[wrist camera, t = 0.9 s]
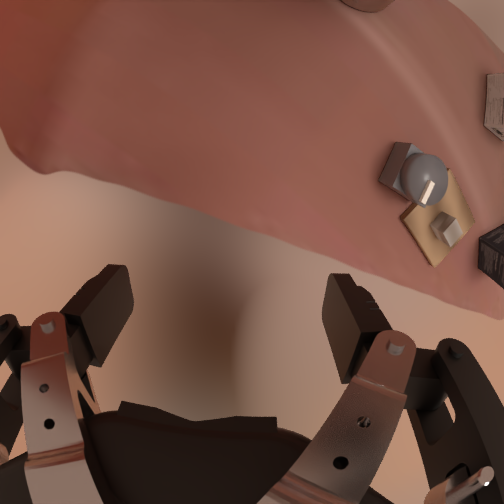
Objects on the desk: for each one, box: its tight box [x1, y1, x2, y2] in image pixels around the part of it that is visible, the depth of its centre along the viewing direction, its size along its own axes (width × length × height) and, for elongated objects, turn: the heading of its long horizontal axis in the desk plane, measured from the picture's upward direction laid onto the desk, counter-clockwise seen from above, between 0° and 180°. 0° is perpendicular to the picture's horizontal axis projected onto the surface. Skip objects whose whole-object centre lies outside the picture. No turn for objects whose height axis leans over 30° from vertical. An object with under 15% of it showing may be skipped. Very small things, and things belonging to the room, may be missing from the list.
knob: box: [378, 142, 448, 208], centre depth 28 cm, size 6×6×7 cm
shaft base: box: [400, 168, 475, 268], centre depth 32 cm, size 11×11×5 cm
